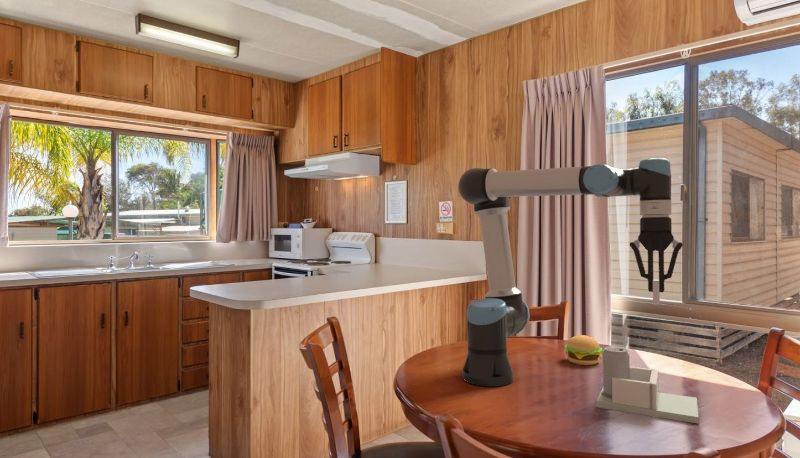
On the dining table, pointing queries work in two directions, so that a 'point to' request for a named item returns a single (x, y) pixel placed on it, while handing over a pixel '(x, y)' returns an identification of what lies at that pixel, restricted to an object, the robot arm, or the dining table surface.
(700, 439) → the dining table surface
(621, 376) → the beverage can
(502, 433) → the dining table surface
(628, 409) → the board
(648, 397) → the housing
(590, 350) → the hamburger
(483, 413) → the dining table surface
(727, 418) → the dining table surface
